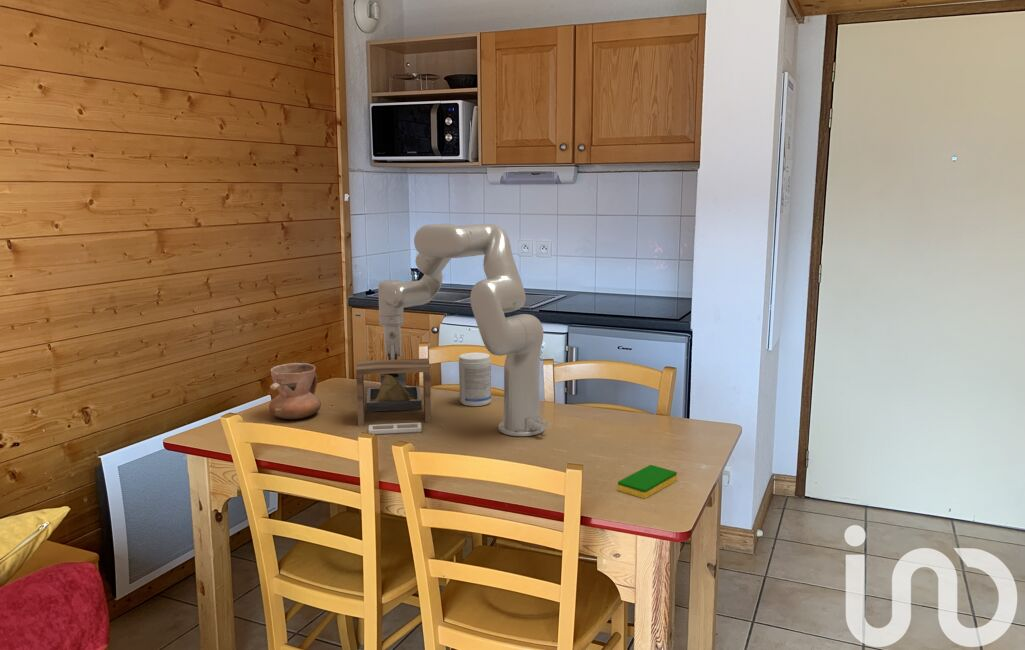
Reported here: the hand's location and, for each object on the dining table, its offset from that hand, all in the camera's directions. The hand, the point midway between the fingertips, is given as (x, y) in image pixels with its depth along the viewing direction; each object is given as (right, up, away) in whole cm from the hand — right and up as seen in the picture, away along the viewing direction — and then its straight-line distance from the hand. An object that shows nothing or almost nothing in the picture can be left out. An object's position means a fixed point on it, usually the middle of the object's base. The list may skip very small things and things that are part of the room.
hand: (393, 376), depth 247 cm
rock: (+3, -9, -16) cm, 19 cm away
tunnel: (+4, -10, -26) cm, 28 cm away
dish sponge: (+68, -20, -73) cm, 102 cm away
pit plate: (+6, -12, -36) cm, 39 cm away
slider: (+1, -6, -7) cm, 10 cm away
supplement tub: (+27, -7, -10) cm, 29 cm away
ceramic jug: (-24, -10, -22) cm, 34 cm away
